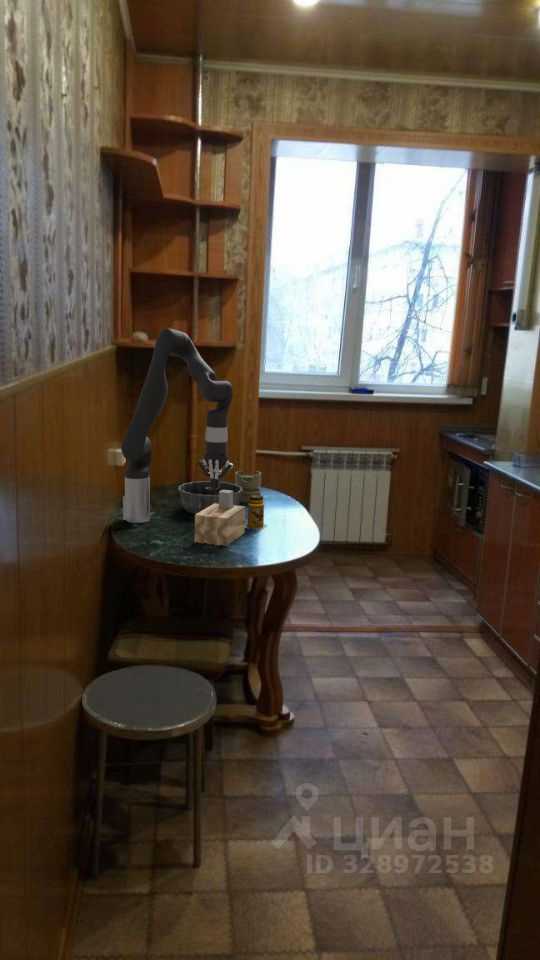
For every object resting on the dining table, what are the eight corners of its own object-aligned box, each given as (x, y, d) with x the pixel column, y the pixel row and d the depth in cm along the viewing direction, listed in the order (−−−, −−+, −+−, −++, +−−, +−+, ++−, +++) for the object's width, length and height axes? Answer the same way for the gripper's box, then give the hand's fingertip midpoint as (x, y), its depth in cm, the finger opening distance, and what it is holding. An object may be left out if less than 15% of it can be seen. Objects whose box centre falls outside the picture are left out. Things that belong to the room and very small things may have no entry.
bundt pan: (253, 509, 298) (254, 485, 296) (221, 523, 275) (221, 497, 273) (200, 500, 309) (200, 478, 307) (165, 513, 286) (165, 489, 284)
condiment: (261, 530, 266) (261, 499, 264) (239, 527, 269) (240, 496, 266) (267, 525, 273) (267, 494, 271) (246, 523, 275) (246, 492, 273)
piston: (259, 475, 306) (233, 474, 307) (259, 502, 308) (233, 501, 309) (262, 470, 317) (237, 469, 318) (261, 497, 319) (236, 495, 320)
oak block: (194, 542, 248) (195, 514, 246) (214, 529, 265) (214, 503, 263) (226, 546, 245) (227, 518, 243) (244, 532, 261) (245, 506, 259)
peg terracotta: (207, 536, 248) (207, 514, 247) (212, 533, 252) (212, 511, 251) (218, 537, 247) (218, 515, 246) (222, 534, 251) (222, 512, 249)
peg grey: (218, 513, 257) (218, 491, 255) (222, 510, 260) (223, 489, 259) (228, 514, 255) (229, 492, 254) (232, 512, 259) (233, 490, 257)
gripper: (238, 439, 244) (236, 489, 248) (203, 436, 248) (202, 485, 252) (230, 442, 237) (228, 493, 241) (194, 439, 241) (193, 489, 245)
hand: (215, 489), depth 246 cm, fingers closed
